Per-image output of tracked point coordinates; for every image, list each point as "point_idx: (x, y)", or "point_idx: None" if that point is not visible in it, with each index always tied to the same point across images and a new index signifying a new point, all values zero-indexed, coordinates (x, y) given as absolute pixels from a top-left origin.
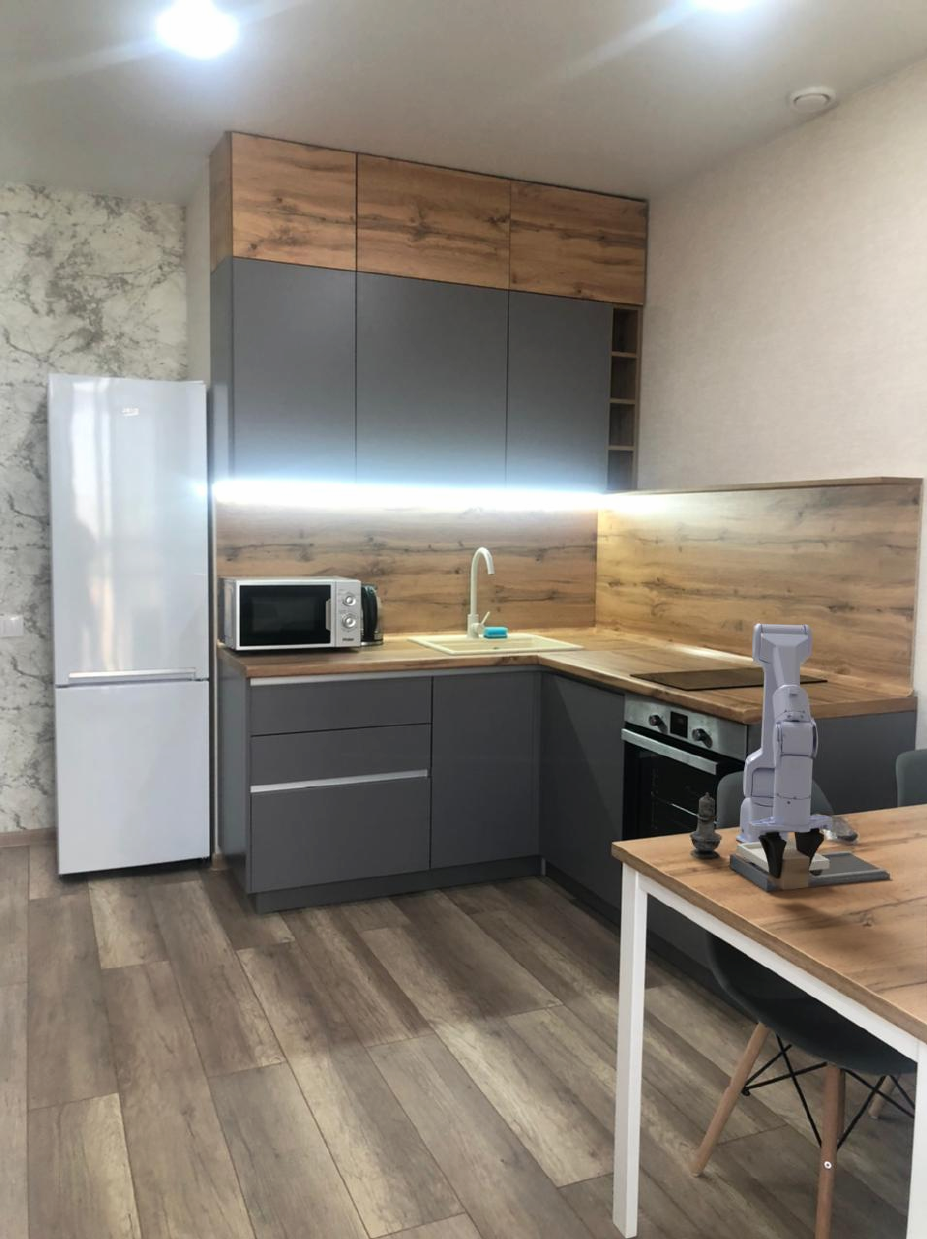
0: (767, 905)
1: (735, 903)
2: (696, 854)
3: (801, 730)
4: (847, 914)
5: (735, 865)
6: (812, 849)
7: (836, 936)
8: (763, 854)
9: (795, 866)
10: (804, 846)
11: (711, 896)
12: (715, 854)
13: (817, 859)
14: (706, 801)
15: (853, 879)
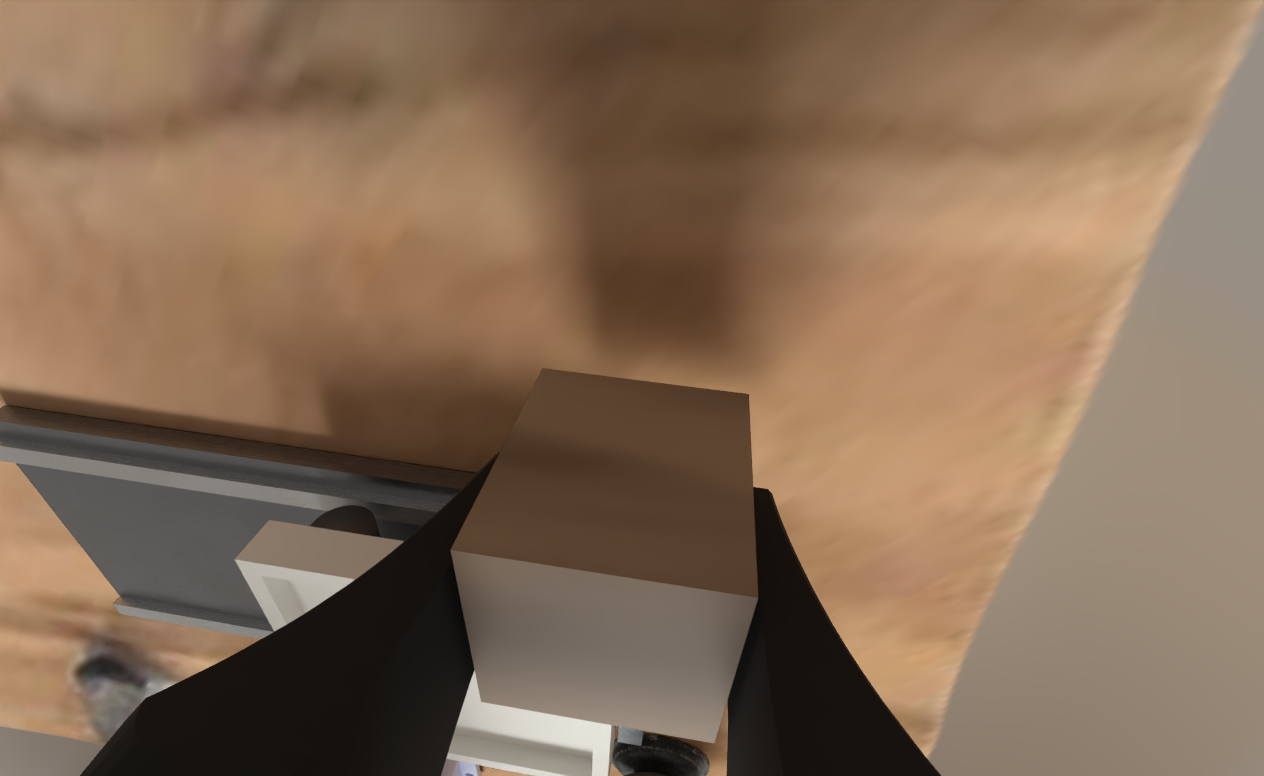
0: (805, 384)
1: (955, 463)
2: (699, 771)
3: None
4: (391, 87)
5: None
6: (368, 628)
7: None
8: None
9: (634, 511)
10: (421, 693)
11: (987, 558)
12: (635, 751)
13: (295, 593)
14: None
15: (180, 442)
